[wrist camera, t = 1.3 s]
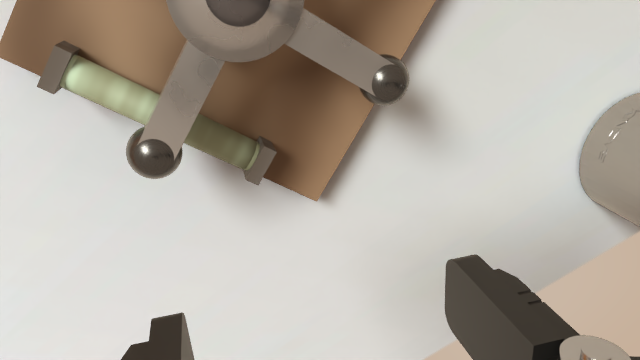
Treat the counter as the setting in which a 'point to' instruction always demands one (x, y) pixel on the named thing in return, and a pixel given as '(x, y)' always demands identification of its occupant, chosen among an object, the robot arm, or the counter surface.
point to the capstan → (243, 46)
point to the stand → (230, 85)
